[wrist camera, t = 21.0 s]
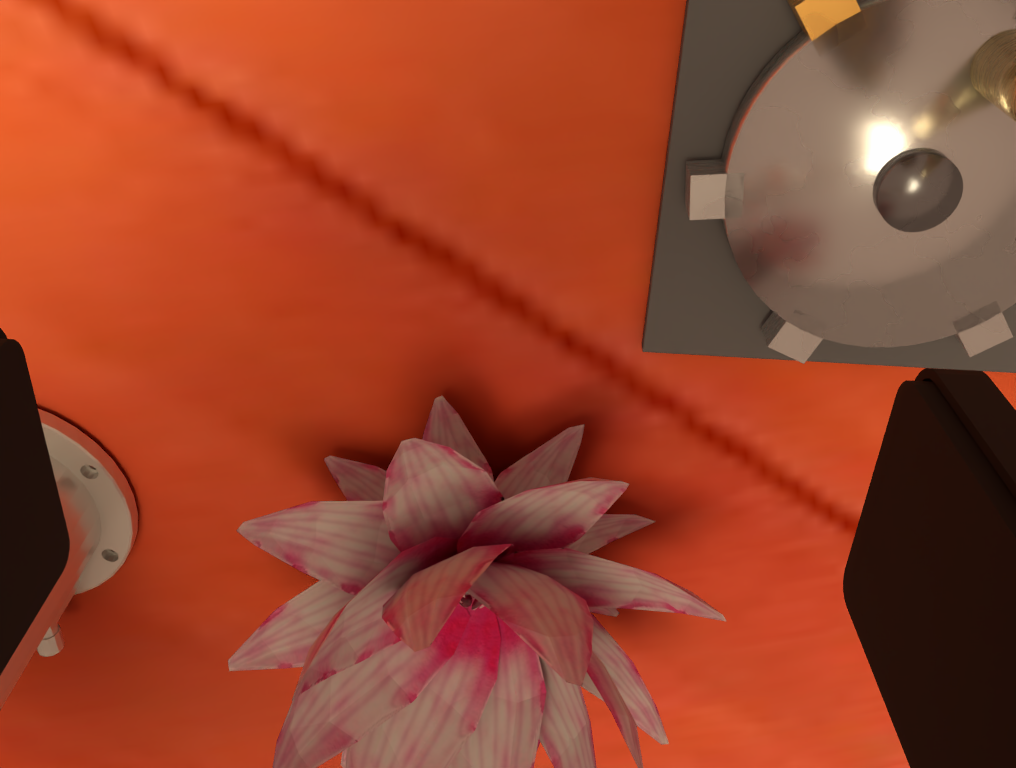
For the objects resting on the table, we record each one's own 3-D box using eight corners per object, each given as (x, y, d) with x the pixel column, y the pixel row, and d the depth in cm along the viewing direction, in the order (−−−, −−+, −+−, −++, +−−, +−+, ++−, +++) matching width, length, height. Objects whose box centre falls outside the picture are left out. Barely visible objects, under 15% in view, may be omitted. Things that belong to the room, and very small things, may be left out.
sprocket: (1221, 65, 35) (1368, 133, 29) (922, 404, 43) (984, 515, 37) (872, -145, 32) (949, -122, 26) (623, 263, 40) (635, 357, 34)
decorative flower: (448, 712, 58) (417, 979, 45) (185, 480, 49) (54, 730, 36) (769, 562, 50) (840, 832, 38) (525, 256, 41) (510, 472, 29)
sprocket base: (1045, 367, 43) (1051, 374, 43) (641, 345, 44) (642, 351, 43) (1221, -75, 33) (1232, -73, 33) (699, -100, 34) (701, -98, 33)
